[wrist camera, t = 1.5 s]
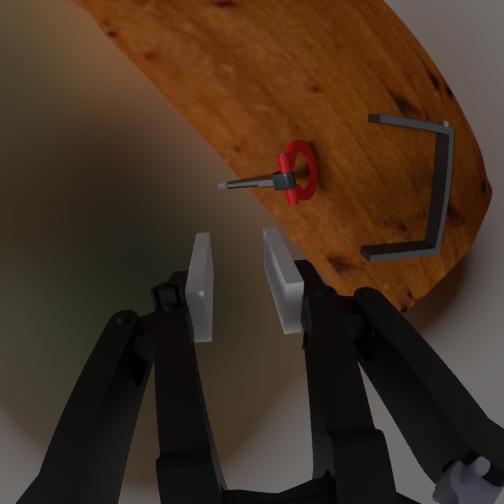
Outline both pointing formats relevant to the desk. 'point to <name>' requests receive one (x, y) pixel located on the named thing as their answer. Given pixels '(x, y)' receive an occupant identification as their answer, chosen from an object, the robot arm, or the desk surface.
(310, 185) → the tow hook
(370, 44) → the desk surface
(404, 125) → the bracket
